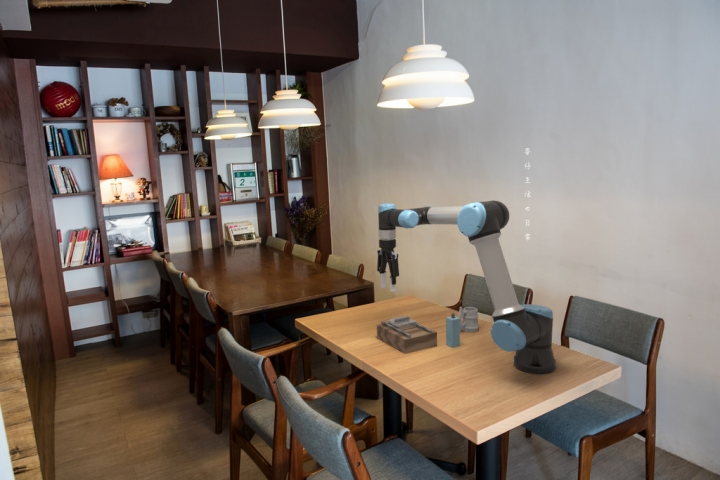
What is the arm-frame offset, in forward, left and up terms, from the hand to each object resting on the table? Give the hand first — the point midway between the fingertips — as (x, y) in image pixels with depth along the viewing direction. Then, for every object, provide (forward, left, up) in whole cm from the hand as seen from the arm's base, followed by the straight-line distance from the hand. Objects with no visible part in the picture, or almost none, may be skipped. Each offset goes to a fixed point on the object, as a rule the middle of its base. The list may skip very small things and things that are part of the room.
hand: (388, 289), depth 233 cm
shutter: (-11, 0, -14) cm, 18 cm away
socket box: (-14, 0, -20) cm, 24 cm away
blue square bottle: (-28, -14, -20) cm, 37 cm away
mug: (-17, -31, -20) cm, 41 cm away
